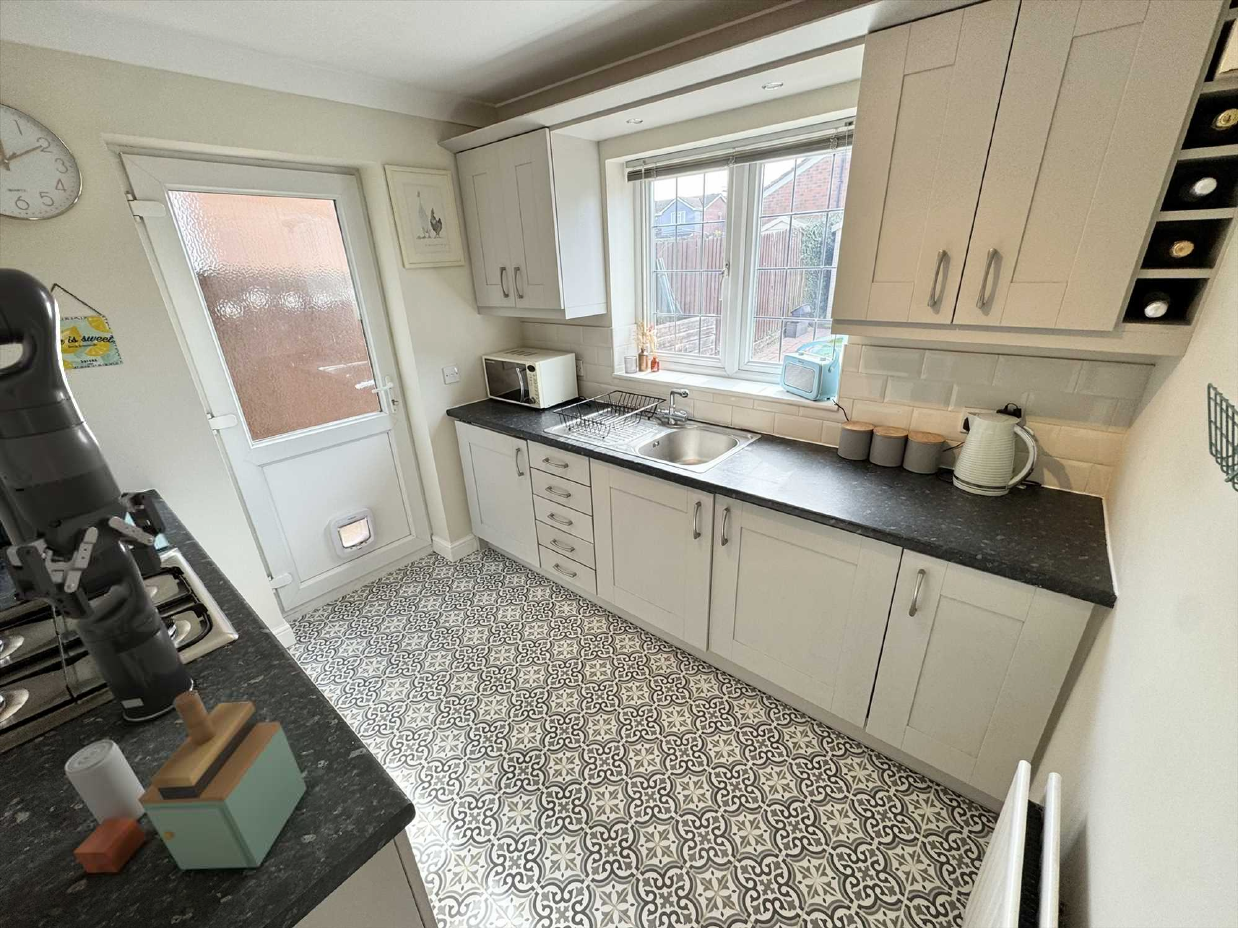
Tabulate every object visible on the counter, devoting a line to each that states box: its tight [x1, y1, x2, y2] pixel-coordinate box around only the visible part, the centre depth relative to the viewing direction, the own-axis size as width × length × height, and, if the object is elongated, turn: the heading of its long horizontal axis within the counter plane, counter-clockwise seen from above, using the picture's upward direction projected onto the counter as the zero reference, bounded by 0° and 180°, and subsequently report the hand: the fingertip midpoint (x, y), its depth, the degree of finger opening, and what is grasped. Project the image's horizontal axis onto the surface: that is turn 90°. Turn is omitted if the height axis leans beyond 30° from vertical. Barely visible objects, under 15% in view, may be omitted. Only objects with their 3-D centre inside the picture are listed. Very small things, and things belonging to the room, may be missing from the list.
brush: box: [150, 689, 259, 800], centre depth 58 cm, size 4×10×10 cm, turn 1°
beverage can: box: [64, 739, 146, 825], centre depth 65 cm, size 5×5×12 cm
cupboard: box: [138, 721, 308, 870], centre depth 62 cm, size 11×10×13 cm
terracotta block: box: [72, 818, 147, 873], centre depth 62 cm, size 4×4×4 cm
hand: (119, 593), depth 58 cm, fingers open, 8 cm apart
